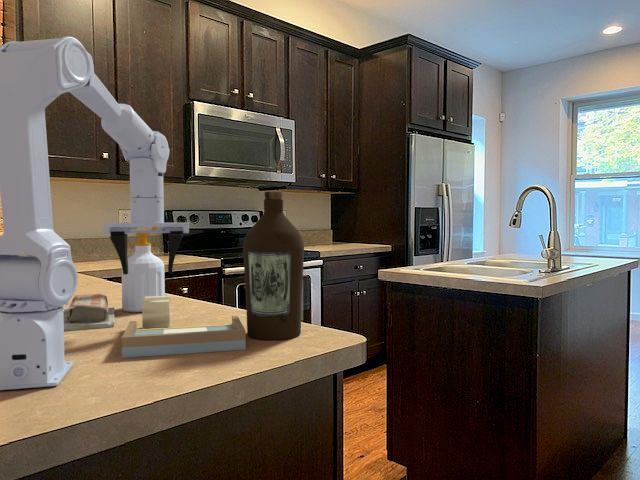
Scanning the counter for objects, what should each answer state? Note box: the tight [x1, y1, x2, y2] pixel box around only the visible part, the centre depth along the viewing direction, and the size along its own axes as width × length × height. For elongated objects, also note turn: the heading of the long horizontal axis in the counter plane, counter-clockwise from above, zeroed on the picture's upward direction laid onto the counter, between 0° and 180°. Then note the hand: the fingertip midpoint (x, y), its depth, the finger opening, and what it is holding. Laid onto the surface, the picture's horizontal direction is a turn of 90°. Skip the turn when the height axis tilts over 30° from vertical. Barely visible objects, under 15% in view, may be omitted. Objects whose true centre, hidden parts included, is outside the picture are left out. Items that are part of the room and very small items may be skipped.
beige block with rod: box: [141, 295, 171, 329], centre depth 91 cm, size 8×4×6 cm, turn 15°
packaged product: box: [63, 293, 116, 332], centre depth 100 cm, size 18×5×10 cm
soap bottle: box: [120, 227, 166, 313], centre depth 112 cm, size 9×9×25 cm
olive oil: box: [242, 191, 305, 341], centre depth 87 cm, size 11×11×25 cm
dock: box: [121, 315, 247, 359], centre depth 81 cm, size 12×18×3 cm, turn 105°
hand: (148, 273), depth 91 cm, fingers open, 7 cm apart
